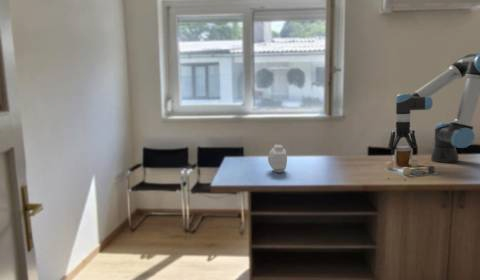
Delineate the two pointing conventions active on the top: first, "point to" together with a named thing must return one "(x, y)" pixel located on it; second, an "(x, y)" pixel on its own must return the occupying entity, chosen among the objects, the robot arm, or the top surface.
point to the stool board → (406, 170)
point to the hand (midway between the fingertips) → (402, 159)
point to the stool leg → (425, 169)
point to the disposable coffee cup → (402, 155)
